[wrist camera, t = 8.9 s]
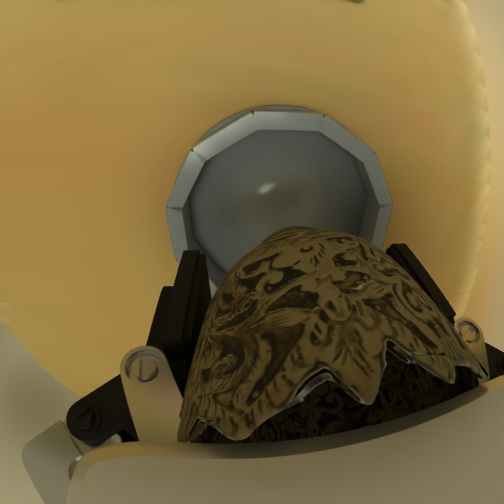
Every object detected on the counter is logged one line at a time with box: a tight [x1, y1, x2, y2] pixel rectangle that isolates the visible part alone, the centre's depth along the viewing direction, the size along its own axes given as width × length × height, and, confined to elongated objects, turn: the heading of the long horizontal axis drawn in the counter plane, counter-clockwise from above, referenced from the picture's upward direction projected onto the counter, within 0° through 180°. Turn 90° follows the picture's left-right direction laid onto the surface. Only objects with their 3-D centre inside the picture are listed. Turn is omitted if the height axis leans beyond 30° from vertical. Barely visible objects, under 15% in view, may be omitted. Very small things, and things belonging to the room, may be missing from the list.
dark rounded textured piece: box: [177, 226, 490, 444], centre depth 8 cm, size 8×7×8 cm
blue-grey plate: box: [166, 105, 393, 297], centre depth 15 cm, size 12×12×2 cm
